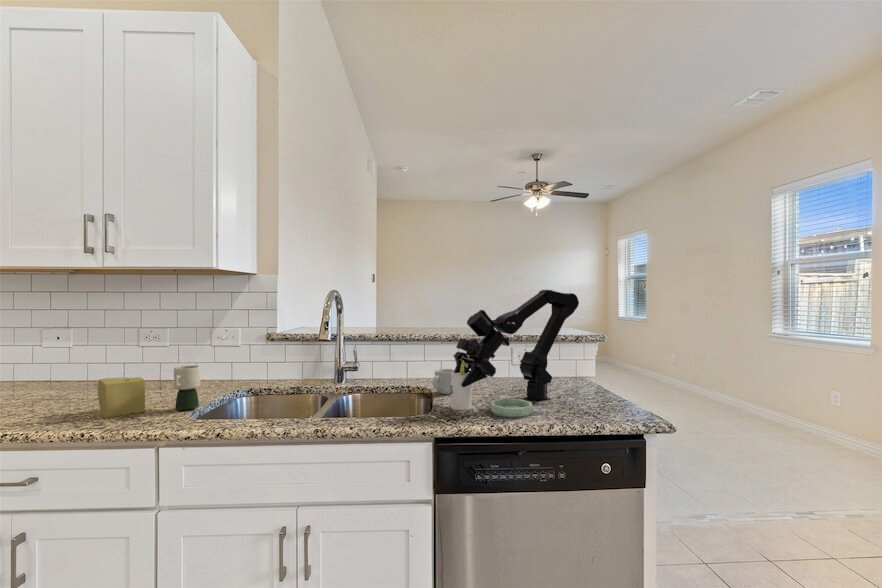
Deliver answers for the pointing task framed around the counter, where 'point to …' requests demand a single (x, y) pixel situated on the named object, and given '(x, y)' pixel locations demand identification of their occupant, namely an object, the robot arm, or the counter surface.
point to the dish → (511, 407)
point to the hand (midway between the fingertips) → (456, 384)
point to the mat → (512, 417)
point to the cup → (443, 380)
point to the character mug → (187, 386)
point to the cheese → (121, 396)
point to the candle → (460, 391)
